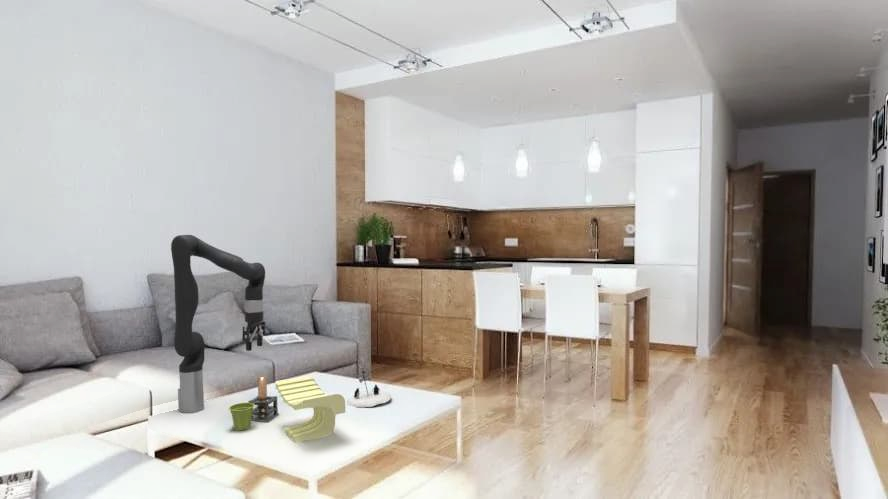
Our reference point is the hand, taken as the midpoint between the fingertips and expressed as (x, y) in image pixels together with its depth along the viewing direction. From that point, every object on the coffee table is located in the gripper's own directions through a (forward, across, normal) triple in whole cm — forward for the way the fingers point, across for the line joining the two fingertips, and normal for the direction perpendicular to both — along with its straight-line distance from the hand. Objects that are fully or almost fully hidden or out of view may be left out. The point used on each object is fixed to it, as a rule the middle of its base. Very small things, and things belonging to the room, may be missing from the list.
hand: (254, 348), depth 245 cm
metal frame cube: (+27, +8, +8) cm, 29 cm away
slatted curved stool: (+26, +19, +34) cm, 47 cm away
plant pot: (+27, +19, +6) cm, 34 cm away
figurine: (+26, -21, +44) cm, 55 cm away
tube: (+26, +7, +8) cm, 28 cm away
